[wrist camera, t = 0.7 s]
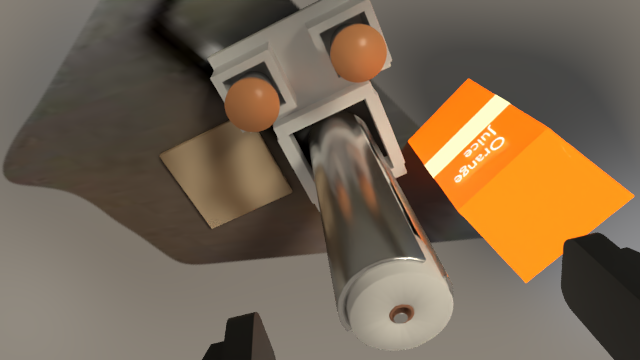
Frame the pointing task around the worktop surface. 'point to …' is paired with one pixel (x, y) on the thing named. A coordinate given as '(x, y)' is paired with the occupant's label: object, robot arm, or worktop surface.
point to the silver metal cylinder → (375, 241)
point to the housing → (307, 77)
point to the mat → (226, 172)
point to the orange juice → (514, 178)
